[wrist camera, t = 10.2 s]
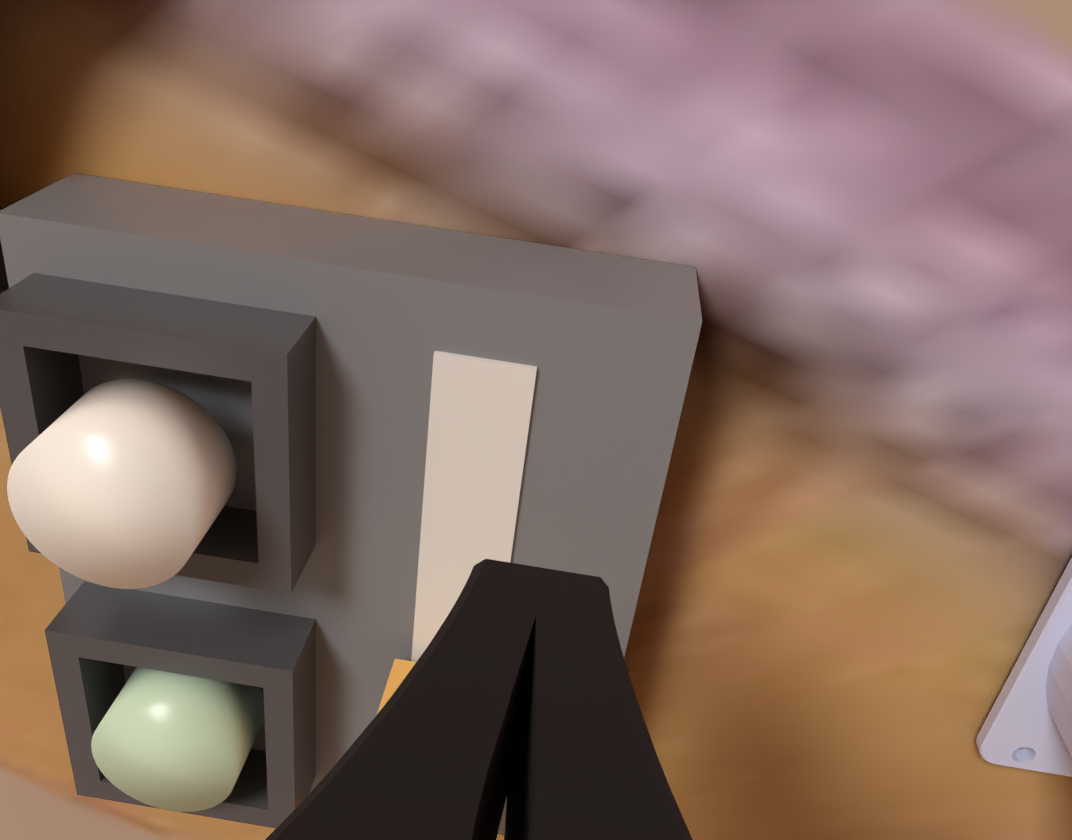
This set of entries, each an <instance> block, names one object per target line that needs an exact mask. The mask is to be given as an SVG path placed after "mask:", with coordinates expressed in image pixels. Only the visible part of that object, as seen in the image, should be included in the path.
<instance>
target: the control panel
mask: <svg viewBox="0 0 1072 840" xmlns="http://www.w3.org/2000/svg"><path fill="white" fill-rule="evenodd" d="M0 240H1V246H2V251H3V257H4V262H5V268H6V274H7V279H8V285H9V289H7V290H6V291H4V292H3V293H1V294H0V407H1V412H2V417H3V422H4V428H5V433H6V438H7V443H8V448H9V453H10V458H11V463H12V464H13V462H14V461H15V459H16V458H17V456H18V455H19V454H20V453H21V452H22V451H23V450H24V449H25V448H26V447H27V446H28V445H29V444H30V443H31V442H33V441H34V440H35V439H36V438H37V437H38V436H39V435H40V434H41V433H42V432H43V431H45V430H46V429H47V428H48V427H49V426H50V425H51V424H52V423H53V422H54V421H56V420H57V419H58V418H59V417H60V416H61V415H62V414H63V413H64V412H65V411H66V410H68V409H69V408H70V407H71V406H72V405H73V404H74V403H75V402H76V401H77V400H79V399H80V398H81V397H82V396H83V395H84V394H85V393H86V392H88V391H89V390H91V389H92V388H93V387H95V386H98V385H100V384H102V383H105V382H108V381H111V380H118V379H143V380H149V381H153V382H157V383H160V384H163V385H166V386H169V387H171V388H174V389H176V390H178V391H180V392H182V393H183V394H185V395H187V396H189V397H190V398H192V399H193V400H194V401H196V402H197V403H199V404H200V405H201V406H202V407H203V408H204V409H206V410H207V411H208V412H209V413H210V414H211V415H212V416H213V417H214V419H215V420H216V421H217V422H218V423H219V425H220V426H221V427H222V429H223V430H224V432H225V434H226V435H227V437H228V439H229V441H230V443H231V446H232V448H233V451H234V455H235V459H236V466H237V478H236V483H235V487H234V490H233V492H232V495H231V496H230V498H229V500H228V501H227V503H226V504H225V506H224V507H223V509H222V510H221V512H220V513H219V515H218V516H217V518H216V519H215V521H214V522H213V524H212V525H211V527H210V528H209V530H208V531H207V533H206V534H205V535H204V537H203V538H202V540H201V541H200V543H199V544H198V546H197V547H196V549H195V550H194V552H193V553H192V555H191V556H190V558H189V559H188V561H187V562H186V564H185V565H184V566H183V567H182V569H181V570H180V571H179V572H178V573H177V574H175V575H174V576H173V577H172V578H170V579H168V580H166V581H165V582H162V583H160V584H157V585H155V586H150V587H146V588H139V589H119V588H111V587H106V586H101V585H98V584H94V583H91V582H88V581H86V580H83V579H81V578H78V577H76V576H74V575H72V574H70V573H68V572H66V571H65V570H63V569H62V568H60V567H59V569H60V574H61V580H62V586H63V591H64V597H65V602H66V604H65V606H64V607H63V608H62V609H61V611H60V612H59V613H58V614H57V616H56V617H55V618H54V619H53V621H52V622H51V623H50V624H49V626H48V627H47V628H46V629H45V634H46V639H47V644H48V649H49V654H50V659H51V664H52V669H53V674H54V680H55V685H56V690H57V695H58V700H59V705H60V710H61V715H62V720H63V725H64V730H65V735H66V740H67V745H68V750H69V755H70V760H71V765H72V770H73V775H74V780H75V785H76V790H77V795H83V796H89V797H95V798H101V799H106V800H112V801H118V802H124V803H130V804H136V805H142V806H148V807H153V806H150V805H148V804H145V803H142V802H140V801H138V800H136V799H134V798H132V797H130V796H129V795H127V794H125V793H124V792H122V791H121V790H119V789H118V788H117V787H116V786H114V785H113V784H112V783H111V782H110V781H109V780H108V779H107V778H106V777H105V776H104V775H103V773H102V772H101V771H100V769H99V768H98V766H97V764H96V762H95V760H94V758H93V754H92V749H91V742H92V737H93V734H94V732H95V730H96V729H97V727H98V725H99V724H100V722H101V721H102V719H103V718H104V716H105V715H106V713H107V712H108V710H109V708H110V707H111V705H112V704H113V702H114V701H115V699H116V698H117V696H118V695H119V693H120V691H121V690H122V688H123V687H124V685H125V684H126V682H127V681H128V679H129V678H130V676H131V675H132V673H133V671H134V670H135V668H136V667H140V668H146V669H152V670H158V671H165V672H171V673H177V674H183V675H189V676H195V677H201V678H207V679H213V680H219V681H225V682H231V683H237V684H243V685H249V686H255V687H259V688H260V690H261V692H262V694H263V696H264V716H265V719H264V721H263V724H262V726H261V728H260V730H259V732H258V735H257V737H256V739H255V741H254V743H253V746H252V748H251V750H250V752H249V754H248V757H247V759H246V761H245V763H244V765H243V768H242V770H241V772H240V774H239V776H238V778H237V781H236V783H235V785H234V787H233V789H232V791H231V793H230V795H229V796H228V797H227V798H226V799H225V800H224V801H223V802H221V803H220V804H218V805H216V806H214V807H212V808H209V809H205V810H201V811H194V812H183V813H189V814H195V815H201V816H207V817H213V818H218V819H224V820H230V821H236V822H242V823H248V824H254V825H260V826H266V827H271V828H277V827H278V826H279V825H280V824H281V823H282V822H283V821H284V820H285V819H286V818H287V817H288V816H289V815H290V814H291V813H292V812H293V811H294V810H295V809H296V808H297V806H298V805H299V804H300V803H301V802H302V801H303V800H304V799H305V798H306V797H307V796H308V795H309V794H310V792H311V791H312V790H313V789H314V788H315V787H316V786H317V785H318V784H319V782H320V781H321V780H322V779H323V778H324V777H325V776H326V775H327V774H328V772H329V771H330V770H331V769H332V768H333V767H334V766H335V764H336V763H337V762H338V761H339V760H340V758H341V757H342V756H343V755H344V754H345V752H346V751H347V750H348V749H349V748H350V746H351V745H352V744H353V743H354V742H355V740H356V739H357V738H358V737H359V736H360V734H361V733H362V732H363V731H364V730H365V728H366V727H367V726H368V725H369V724H370V722H371V721H372V720H373V719H374V718H375V716H376V715H377V712H378V709H379V706H380V703H381V700H382V697H383V693H384V690H385V687H386V684H387V681H388V678H389V675H390V672H391V669H392V666H393V662H394V659H401V660H407V661H413V662H417V661H418V659H419V658H420V656H421V655H422V654H423V652H424V651H425V650H426V648H427V647H428V645H429V644H430V642H431V641H432V639H433V638H434V636H435V635H436V633H437V632H438V630H439V628H440V627H441V625H442V624H443V622H444V621H445V619H446V618H447V616H448V614H449V613H450V611H451V609H452V608H453V606H454V604H455V603H456V601H457V599H458V597H459V596H460V594H461V592H462V590H463V588H464V586H465V584H466V582H467V580H468V578H469V576H470V574H471V571H472V569H473V567H474V565H476V564H477V563H479V562H481V561H483V560H484V559H491V560H497V561H503V562H510V563H516V564H522V565H528V566H534V567H541V568H547V569H553V570H559V571H565V572H572V573H578V574H584V575H590V576H597V577H601V578H602V580H603V581H604V582H605V583H606V585H607V586H608V587H609V592H610V600H611V606H612V611H613V617H614V621H615V626H616V630H617V634H618V638H619V642H620V646H621V650H622V653H623V657H625V652H626V648H627V644H628V639H629V635H630V631H631V627H632V622H633V618H634V614H635V609H636V605H637V601H638V596H639V592H640V588H641V584H642V579H643V575H644V571H645V566H646V562H647V558H648V553H649V549H650V545H651V540H652V536H653V532H654V528H655V523H656V519H657V515H658V510H659V506H660V502H661V497H662V493H663V489H664V484H665V480H666V476H667V472H668V467H669V463H670V459H671V454H672V450H673V446H674V441H675V437H676V433H677V428H678V424H679V420H680V416H681V411H682V407H683V403H684V398H685V394H686V390H687V385H688V381H689V377H690V372H691V368H692V364H693V360H694V355H695V351H696V347H697V342H698V338H699V334H700V329H701V325H702V314H701V306H700V299H699V291H698V283H697V276H696V268H695V267H691V266H684V265H677V264H671V263H664V262H658V261H651V260H645V259H638V258H631V257H625V256H618V255H612V254H605V253H598V252H592V251H585V250H579V249H572V248H565V247H559V246H552V245H546V244H539V243H532V242H526V241H519V240H513V239H506V238H499V237H493V236H486V235H480V234H473V233H467V232H460V231H453V230H447V229H440V228H434V227H427V226H420V225H414V224H407V223H401V222H394V221H387V220H381V219H374V218H368V217H361V216H354V215H348V214H341V213H335V212H328V211H321V210H315V209H308V208H302V207H295V206H289V205H282V204H275V203H269V202H262V201H256V200H249V199H242V198H236V197H229V196H223V195H216V194H209V193H203V192H196V191H190V190H183V189H176V188H170V187H163V186H157V185H150V184H144V183H137V182H130V181H124V180H117V179H111V178H104V177H97V176H91V175H84V174H78V173H73V174H71V175H69V176H67V177H65V178H63V179H61V180H59V181H57V182H55V183H53V184H51V185H49V186H47V187H45V188H43V189H41V190H39V191H38V192H36V193H34V194H32V195H30V196H28V197H26V198H24V199H22V200H20V201H18V202H16V203H14V204H12V205H10V206H8V207H6V208H4V209H2V210H0ZM26 538H27V537H26ZM27 543H28V548H29V551H30V552H37V553H41V552H39V551H38V550H37V549H36V548H35V547H34V546H33V544H32V543H31V542H30V541H29V540H28V539H27ZM506 802H507V798H506ZM506 802H505V806H504V810H503V814H502V818H501V822H500V826H499V830H498V834H500V835H505V818H506ZM154 808H157V807H154ZM177 812H178V811H177Z"/></svg>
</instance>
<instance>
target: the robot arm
mask: <svg viewBox="0 0 1072 840" xmlns="http://www.w3.org/2000/svg"><path fill="white" fill-rule="evenodd" d="M976 744H977V747H978V749H979V752H980V755H981V757H982V758H983V759H984V760H985V761H987V762H990V763H993V764H997V765H1003V766H1009V767H1015V768H1021V769H1028V770H1034V771H1040V772H1046V773H1052V774H1058V775H1064V776H1070V777H1072V557H1071V559H1070V561H1069V563H1068V565H1067V567H1066V569H1065V571H1064V573H1063V575H1062V576H1061V578H1060V580H1059V582H1058V584H1057V586H1056V588H1055V590H1054V592H1053V593H1052V595H1051V597H1050V599H1049V601H1048V603H1047V605H1046V607H1045V609H1044V610H1043V612H1042V614H1041V616H1040V618H1039V620H1038V622H1037V624H1036V626H1035V628H1034V629H1033V631H1032V633H1031V635H1030V637H1029V639H1028V641H1027V643H1026V645H1025V646H1024V648H1023V650H1022V652H1021V654H1020V656H1019V658H1018V660H1017V662H1016V664H1015V665H1014V667H1013V669H1012V671H1011V673H1010V675H1009V677H1008V679H1007V681H1006V682H1005V684H1004V686H1003V688H1002V690H1001V692H1000V694H999V696H998V698H997V700H996V701H995V703H994V705H993V707H992V709H991V711H990V713H989V715H988V717H987V718H986V720H985V722H984V724H983V726H982V728H981V730H980V732H979V734H978V735H977V739H976ZM1022 747H1024V748H1022ZM1019 748H1022V749H1019ZM506 798H507V802H506ZM505 802H506V818H505V835H504V840H692V838H691V835H690V833H689V831H688V829H687V826H686V824H685V822H684V819H683V817H682V815H681V812H680V810H679V808H678V806H677V803H676V801H675V799H674V796H673V794H672V792H671V789H670V787H669V784H668V782H667V780H666V777H665V775H664V772H663V770H662V767H661V765H660V762H659V760H658V757H657V754H656V752H655V749H654V746H653V743H652V741H651V738H650V735H649V732H648V730H647V727H646V724H645V721H644V719H643V716H642V713H641V710H640V708H639V705H638V702H637V699H636V696H635V693H634V690H633V687H632V684H631V680H630V677H629V674H628V670H627V667H626V663H625V660H624V657H623V653H622V650H621V646H620V642H619V638H618V634H617V630H616V626H615V621H614V617H613V611H612V606H611V600H610V592H609V587H608V586H607V585H606V583H605V582H604V581H603V580H602V578H601V577H597V576H590V575H584V574H578V573H572V572H565V571H559V570H553V569H547V568H541V567H534V566H528V565H522V564H516V563H510V562H503V561H497V560H491V559H484V560H483V561H481V562H479V563H477V564H476V565H474V567H473V569H472V571H471V574H470V576H469V578H468V580H467V582H466V584H465V586H464V588H463V590H462V592H461V594H460V596H459V597H458V599H457V601H456V603H455V604H454V606H453V608H452V609H451V611H450V613H449V614H448V616H447V618H446V619H445V621H444V622H443V624H442V625H441V627H440V628H439V630H438V632H437V633H436V635H435V636H434V638H433V639H432V641H431V642H430V644H429V645H428V647H427V648H426V650H425V651H424V652H423V654H422V655H421V656H420V658H419V659H418V661H417V662H416V663H415V665H414V666H413V667H412V669H411V670H410V672H409V673H408V674H407V676H406V677H405V678H404V680H403V681H402V683H401V684H400V685H399V687H398V688H397V689H396V691H395V692H394V694H393V695H392V696H391V698H390V699H389V700H388V701H387V703H386V704H385V705H384V707H383V708H382V709H381V710H380V712H379V713H378V714H377V715H376V716H375V718H374V719H373V720H372V721H371V722H370V724H369V725H368V726H367V727H366V728H365V730H364V731H363V732H362V733H361V734H360V736H359V737H358V738H357V739H356V740H355V742H354V743H353V744H352V745H351V746H350V748H349V749H348V750H347V751H346V752H345V754H344V755H343V756H342V757H341V758H340V760H339V761H338V762H337V763H336V764H335V766H334V767H333V768H332V769H331V770H330V771H329V772H328V774H327V775H326V776H325V777H324V778H323V779H322V780H321V781H320V782H319V784H318V785H317V786H316V787H315V788H314V789H313V790H312V791H311V792H310V794H309V795H308V796H307V797H306V798H305V799H304V800H303V801H302V802H301V803H300V804H299V805H298V806H297V808H296V809H295V810H294V811H293V812H292V813H291V814H290V815H289V816H288V817H287V818H286V819H285V820H284V821H283V822H282V823H281V824H280V825H279V826H278V827H277V828H276V829H275V830H274V831H273V832H272V833H271V834H270V835H269V836H268V837H267V838H266V840H496V838H497V834H498V830H499V826H500V822H501V818H502V814H503V810H504V806H505Z"/></svg>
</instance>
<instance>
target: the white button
mask: <svg viewBox="0 0 1072 840" xmlns="http://www.w3.org/2000/svg"><path fill="white" fill-rule="evenodd" d="M236 478H237V466H236V459H235V455H234V451H233V448H232V446H231V443H230V441H229V439H228V437H227V435H226V434H225V432H224V430H223V429H222V427H221V426H220V425H219V423H218V422H217V421H216V420H215V419H214V417H213V416H212V415H211V414H210V413H209V412H208V411H207V410H206V409H204V408H203V407H202V406H201V405H200V404H199V403H197V402H196V401H194V400H193V399H192V398H190V397H189V396H187V395H185V394H183V393H182V392H180V391H178V390H176V389H174V388H171V387H169V386H166V385H163V384H160V383H157V382H153V381H149V380H143V379H118V380H111V381H108V382H105V383H102V384H100V385H98V386H95V387H93V388H92V389H91V390H89V391H88V392H86V393H85V394H84V395H83V396H82V397H81V398H80V399H79V400H77V401H76V402H75V403H74V404H73V405H72V406H71V407H70V408H69V409H68V410H66V411H65V412H64V413H63V414H62V415H61V416H60V417H59V418H58V419H57V420H56V421H54V422H53V423H52V424H51V425H50V426H49V427H48V428H47V429H46V430H45V431H43V432H42V433H41V434H40V435H39V436H38V437H37V438H36V439H35V440H34V441H33V442H31V443H30V444H29V445H28V446H27V447H26V448H25V449H24V450H23V451H22V452H21V453H20V454H19V455H18V456H17V458H16V459H15V461H14V462H13V464H12V467H11V469H10V471H9V476H8V481H7V493H8V500H9V504H10V508H11V511H12V513H13V516H14V518H15V520H16V522H17V524H18V525H19V527H20V529H21V531H22V532H23V533H24V535H25V536H26V537H27V539H28V540H29V541H30V542H31V543H32V544H33V546H34V547H35V548H36V549H37V550H38V551H39V552H41V553H42V554H43V555H44V556H45V557H46V558H47V559H49V560H50V561H51V562H53V563H54V564H55V565H57V566H58V567H60V568H62V569H63V570H65V571H66V572H68V573H70V574H72V575H74V576H76V577H78V578H81V579H83V580H86V581H88V582H91V583H94V584H98V585H101V586H106V587H111V588H119V589H139V588H146V587H150V586H155V585H157V584H160V583H162V582H165V581H166V580H168V579H170V578H172V577H173V576H174V575H175V574H177V573H178V572H179V571H180V570H181V569H182V567H183V566H184V565H185V564H186V562H187V561H188V559H189V558H190V556H191V555H192V553H193V552H194V550H195V549H196V547H197V546H198V544H199V543H200V541H201V540H202V538H203V537H204V535H205V534H206V533H207V531H208V530H209V528H210V527H211V525H212V524H213V522H214V521H215V519H216V518H217V516H218V515H219V513H220V512H221V510H222V509H223V507H224V506H225V504H226V503H227V501H228V500H229V498H230V496H231V495H232V492H233V490H234V487H235V483H236Z"/></svg>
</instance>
